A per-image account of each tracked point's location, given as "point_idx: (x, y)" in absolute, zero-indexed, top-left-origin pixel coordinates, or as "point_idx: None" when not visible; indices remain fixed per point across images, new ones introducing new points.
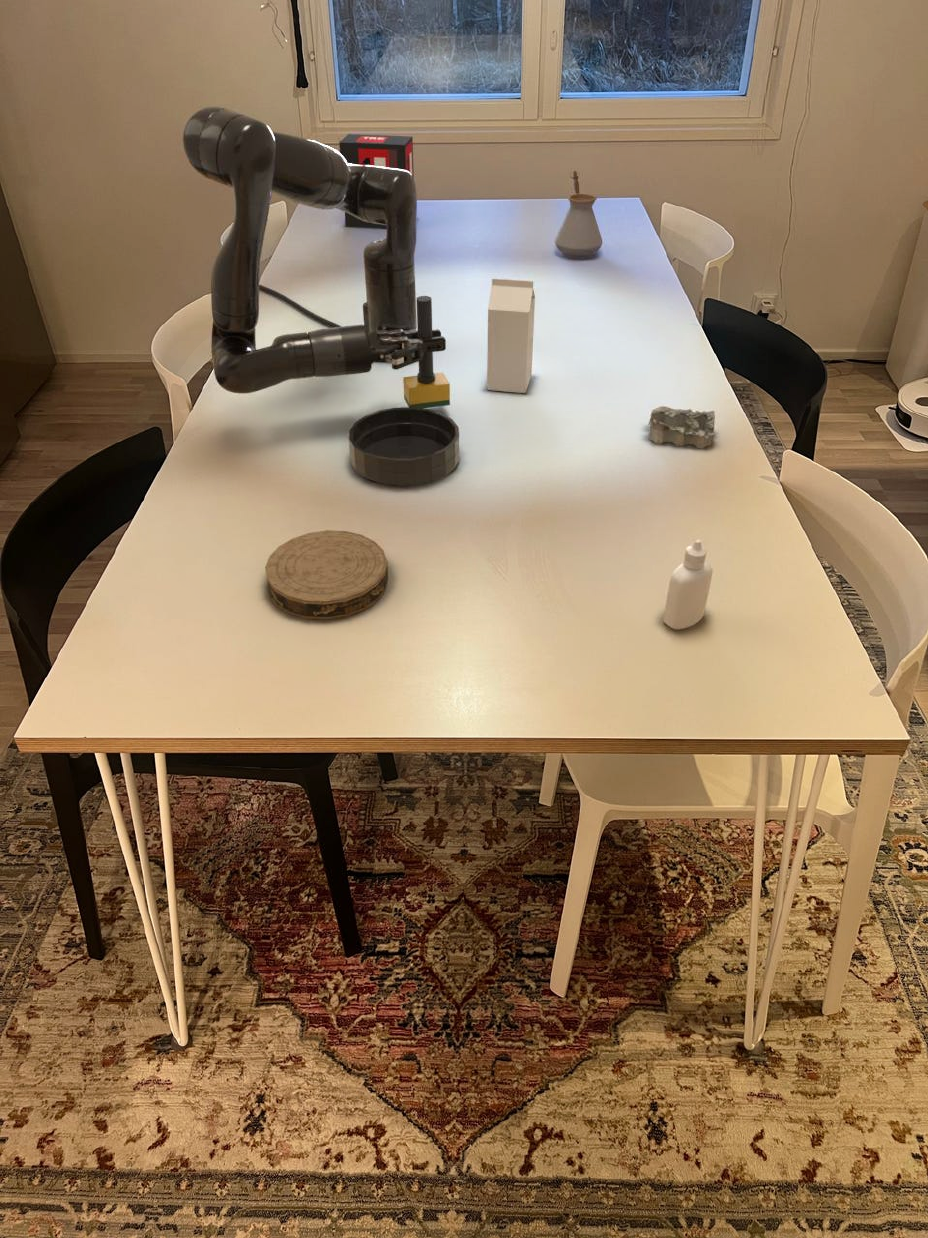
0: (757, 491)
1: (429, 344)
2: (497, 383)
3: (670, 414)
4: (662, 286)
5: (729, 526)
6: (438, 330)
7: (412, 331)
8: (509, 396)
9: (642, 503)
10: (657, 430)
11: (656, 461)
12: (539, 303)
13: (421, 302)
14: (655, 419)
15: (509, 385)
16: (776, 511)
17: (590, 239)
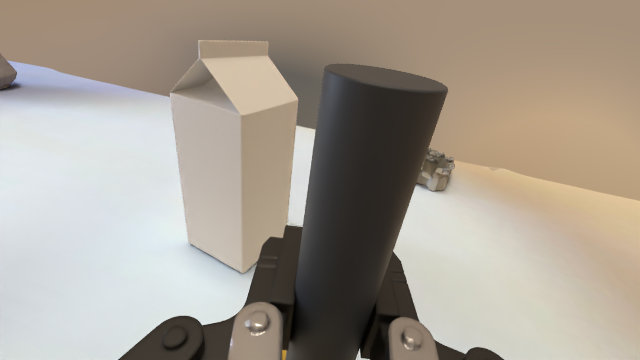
0: (517, 178)
1: (412, 306)
2: (256, 251)
3: None
4: (137, 92)
5: (592, 209)
6: (300, 228)
7: (262, 334)
8: None
9: (586, 242)
10: (446, 177)
11: (481, 203)
12: (40, 135)
13: (442, 102)
14: None
15: None
16: (547, 182)
17: (3, 65)
